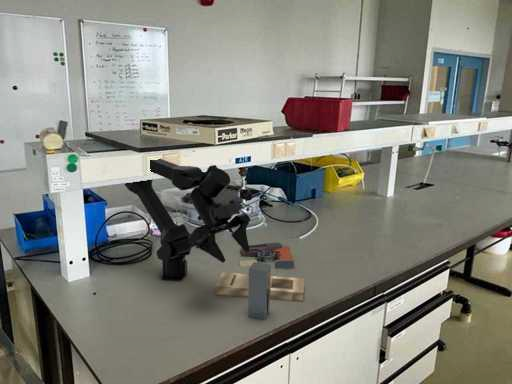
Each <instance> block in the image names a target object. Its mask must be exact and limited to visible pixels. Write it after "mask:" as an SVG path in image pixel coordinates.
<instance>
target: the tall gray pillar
mask: <svg viewBox="0 0 512 384" xmlns="http://www.w3.org/2000/svg"><path fill="white" fill-rule="evenodd" d="M271 272H272V264H270V263H263V262H262V263H261V262H260V263H257V262H254V263H253V264H252V266H249V268H248V274H249V293H248V297H247V300H248V302H247V303H248V305H247V307H248V309H247V317H248V318H251V319H252V318H253V319H258V320H263V321H266V319H267V315H268V314H269V313H270V308H271V307H270V305H271V303H270V300H271V299H270V277H271V276H272V275H271V274H272V273H271Z"/></svg>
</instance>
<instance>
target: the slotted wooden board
mask: <svg viewBox="0 0 512 384" xmlns="http://www.w3.org/2000/svg"><path fill="white" fill-rule="evenodd" d="M304 290H305V278H301V277H290V276H289V277H287V276H274V275H271V277H270V300H279V301H281V300H283V301H293V302H294V301H295V302H297V301H298V302H304ZM248 293H249V273H248V274H246V273H238V272H237V273H234V272H222V273H221V274H220V278H219V279H218V282H217V283H216V286H215V295H218V296H220V295H221V296H234V297H244V298H248Z"/></svg>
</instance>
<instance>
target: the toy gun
mask: <svg viewBox="0 0 512 384" xmlns="http://www.w3.org/2000/svg"><path fill="white" fill-rule="evenodd" d="M249 249H250V251H249V252H246V251H245V250H244V249H243V248H242V247H240V249H239V251H240V256H241V257H248V258H249V257H254V259H250V260H249V259H248V260H239V266H240V267H251V266H252V264H253V263H254V262H257V263H263V262H264V261H269V260H270V261H271V260H274V259H277V260H276V261H275V262H274V267H275V269H291V268H295V262H294V261H295V259H293V254H292V252H291V251H290V249H291V248H290V246H289V245H283V244H282V243H280V242H268V243H265V242H264V243H258V244H257V243H256V244H250V245H249ZM255 256H256V257H255Z"/></svg>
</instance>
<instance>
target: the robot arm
mask: <svg viewBox="0 0 512 384" xmlns="http://www.w3.org/2000/svg"><path fill="white" fill-rule="evenodd" d="M150 169H151V170H150V171H151V172H153V173H154V174H156V175H158V176H160V177H163V178H165V179H168V180H169V181H171V184H172V185H173V186H174V187H175V188H177V189H178V190H180V191H187V190H191V191H190V192H187V193H186V194H185V195H186V197H185V200H184V203H185V204H190V203H191V204H192V205H193V207H194V209H195V211H196V213H197V214H198V216H197V217H196V219H197V220H198V222H200V221H202V223H203V224H204V225H200V226H198V227H195V229H194V230H192V232H191V233H190V232H189V231H188V229H187V227H186V226H185V224H180V225H178V224H177V223H175V220H173V218H172V216H171V214H170V213H169V211H168V210H167V208H166V207H165V205H164V204H163V202H162V201H161V199H160V197H159V196H158V194H157V192H156V191H155V190H154V187H153V179H152V180H147V181H140V182H133V183H126V184H124V183H123V184H124V186H125V187H126V188H127V190H128V191H130V192H131V193H133V194H135V195H136V196H138V198H139V200H140V201H141V202H142V204H143V206H144V207H145V210H146V211H147V213H148V215H149V216H150V218H151V220H152V221H153V223H154V224H155V226H156V228H157V229H158V231H159V232H160V236H159V237H160V239H159V242H160V245H161V246H160V247H159V248H158V249H157V250H156V256H157V259H158V260H161V261H162V262H161V263H162V275H161V277H160V279H161V280H166V281H167V280H168V281H169V280H170V281H183V279H184V278H185V276H187V274H188V272H189V271H188V260H187V259H186V256H189V255H190V254H191V250H192V248H194V247H195V248H196V249H199V250H202V251H204V252H205V253H207V254H209V255H210V256H212V257H213V258H215V259H216V260H217V261H219V262H221V263H222V264H223V263H225V262H226V257H225V256H224V254H223V252H222V250H221V248H220V247H219V244H218V243H217V241H216V235H217V234H220V233H222V232H225V231H228V232H230V233H231V234H230V236H231V237H232V239H234V241H236V243H237V244H238V246H240V248H243V249H244V250H245V251H246V252H249V251H250V249H249V240H248V235H247V227H248V226H249V225H250V221H252V220H251V218H250V216H249V214H248V213H245V212H242V213H241V212H240V211H241V210H242V209H243V206H242V203H241V201H240V200H239V198H235V199H230V200H229V202H228V204H225V205H223V204H222V203H221V202H219V203H217V201H216V199H215V198H217V197H219V196H220V195H221V193H222V192H223V191H225V189H226V188H227V187H228V186H229V185H230V183H231V177H230V175H229V174H228V173H227V172H226V171H225V170H223V169H221V168H219V167H217V165H216V164H212V165H210V166H209V167H207V170H206V171H203V170H202V169H201V168H200V167H199V166H190V165H179V164H176V163H173V162H170V161H168V160H165V159H162V158H160V159H158V160H150ZM233 216H234V217H233Z"/></svg>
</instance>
